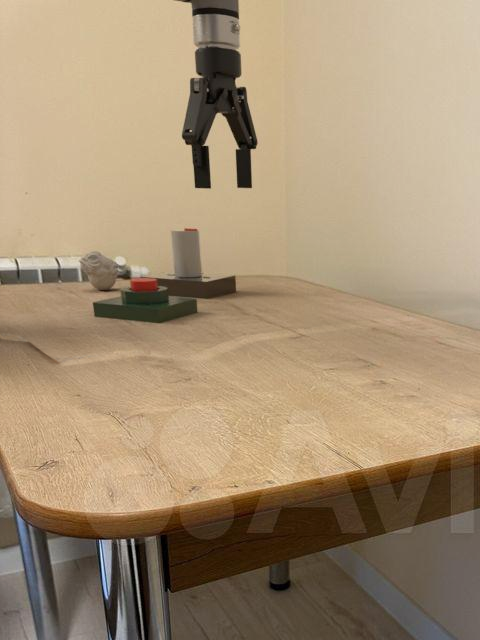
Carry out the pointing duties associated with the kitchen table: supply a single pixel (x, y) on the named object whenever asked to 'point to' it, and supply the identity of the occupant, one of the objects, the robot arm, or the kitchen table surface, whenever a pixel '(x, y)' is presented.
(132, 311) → the block
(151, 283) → the button
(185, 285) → the panel
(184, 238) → the grey cylinder
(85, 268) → the frog figurine
